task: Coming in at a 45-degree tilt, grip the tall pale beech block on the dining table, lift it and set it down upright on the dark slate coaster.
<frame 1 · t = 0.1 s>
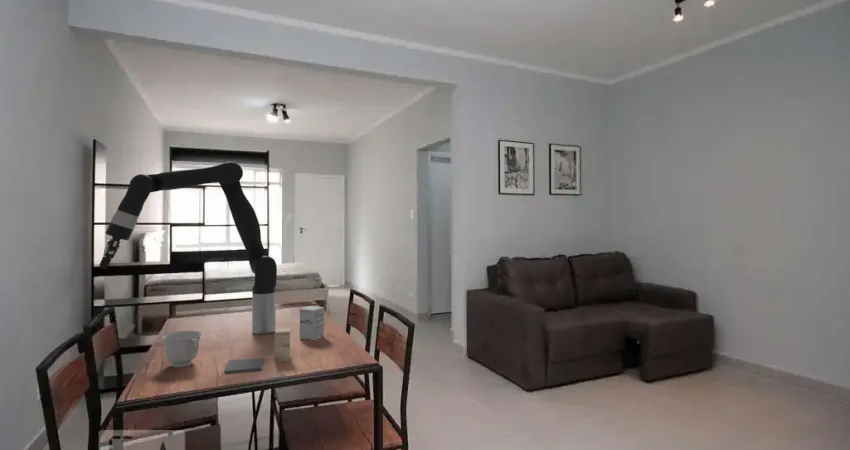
hand: (102, 267, 158), 31 cm above the table, tool tilted 20°, fingers open, 8 cm apart
slate coaster: (244, 366, 147), on the table
teacup: (184, 366, 148), on the table
supplement box: (311, 338, 183), on the table
beech block: (282, 359, 155), on the table
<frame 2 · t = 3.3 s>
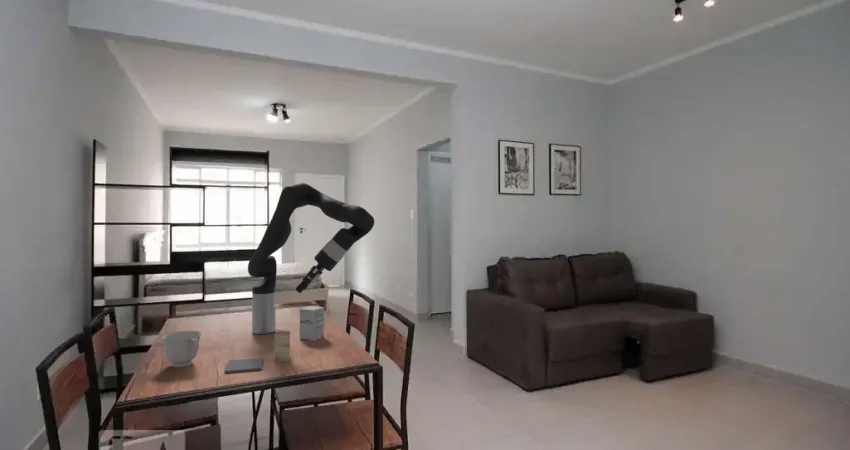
hand: (299, 290, 154), 25 cm above the table, tool tilted 40°, fingers open, 8 cm apart
nothing on the table moved.
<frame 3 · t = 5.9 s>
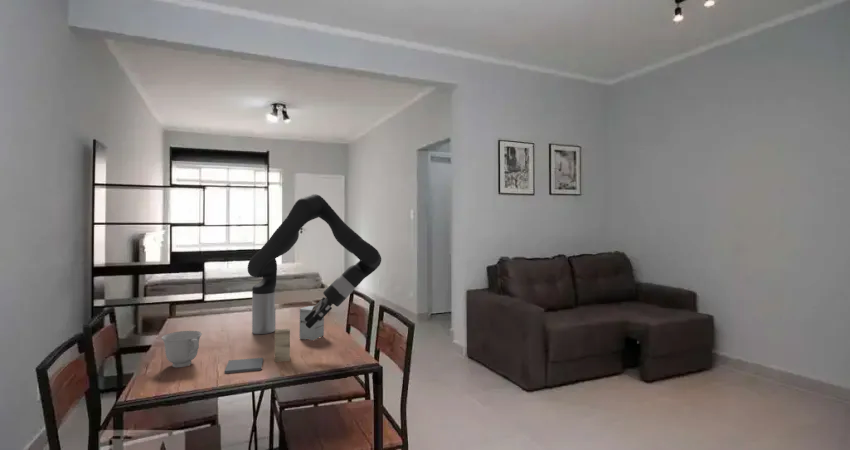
hand: (306, 323, 158), 12 cm above the table, tool tilted 45°, fingers open, 8 cm apart
nothing on the table moved.
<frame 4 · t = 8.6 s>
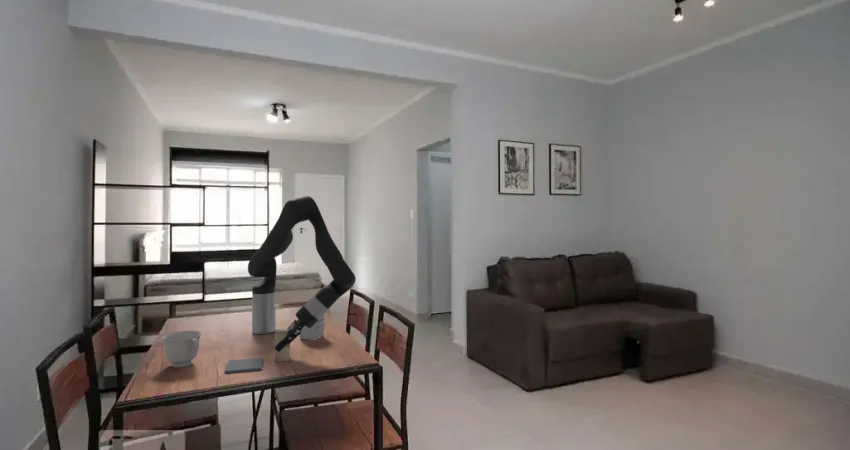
hand: (276, 347, 155), 4 cm above the table, tool tilted 45°, fingers closed on beech block, 5 cm apart
beech block: (282, 359, 155), on the table, touching gripper
everything else where it was.
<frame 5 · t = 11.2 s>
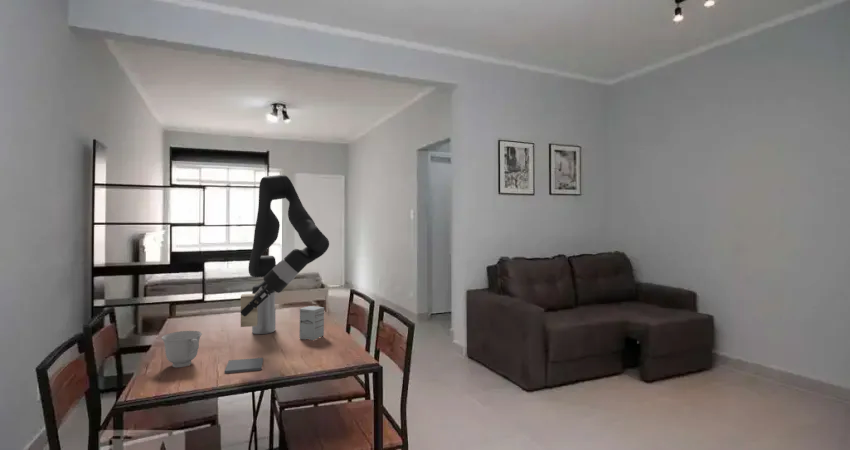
hand: (243, 312, 147), 18 cm above the table, tool tilted 45°, fingers closed on beech block, 5 cm apart
beech block: (249, 324, 148), point 14 cm above the table, touching gripper
everything else where it was.
when the fingers open (6 cm above the table, at t = 14.0 s): beech block drops 1 cm, resting on slate coaster.
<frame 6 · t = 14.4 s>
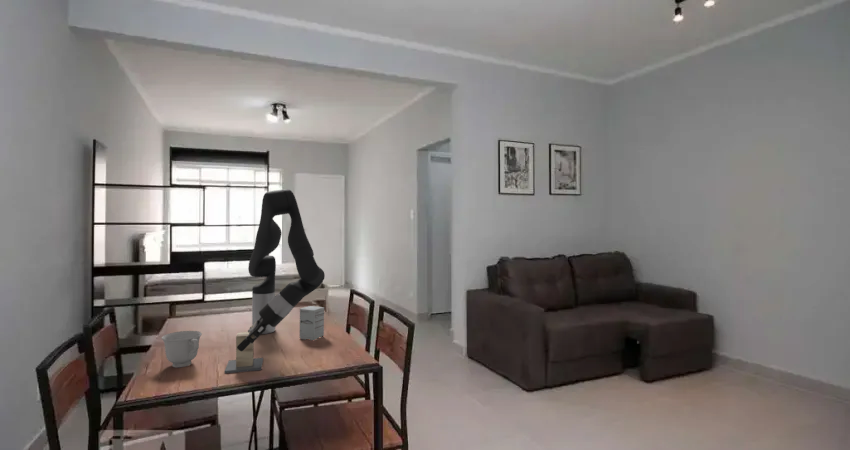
hand: (240, 345, 147), 7 cm above the table, tool tilted 45°, fingers open, 8 cm apart
beech block: (244, 363, 147), point 1 cm above the table, touching slate coaster
everything else where it was.
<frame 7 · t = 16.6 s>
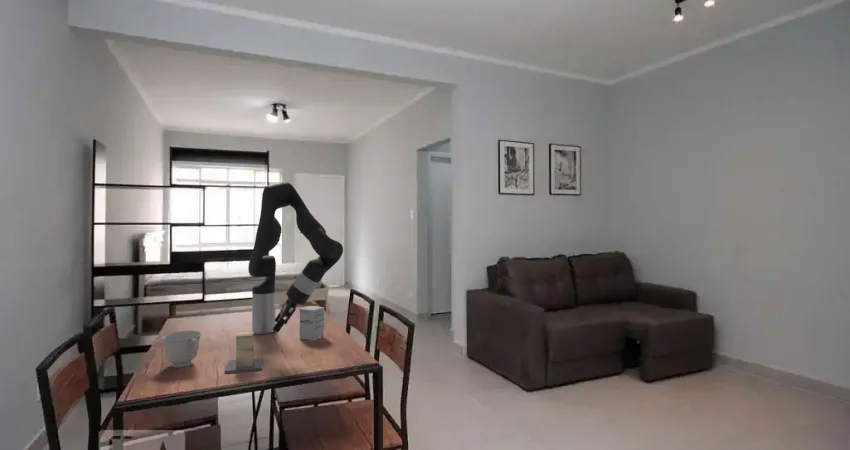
hand: (276, 326, 153), 12 cm above the table, tool tilted 35°, fingers open, 8 cm apart
nothing on the table moved.
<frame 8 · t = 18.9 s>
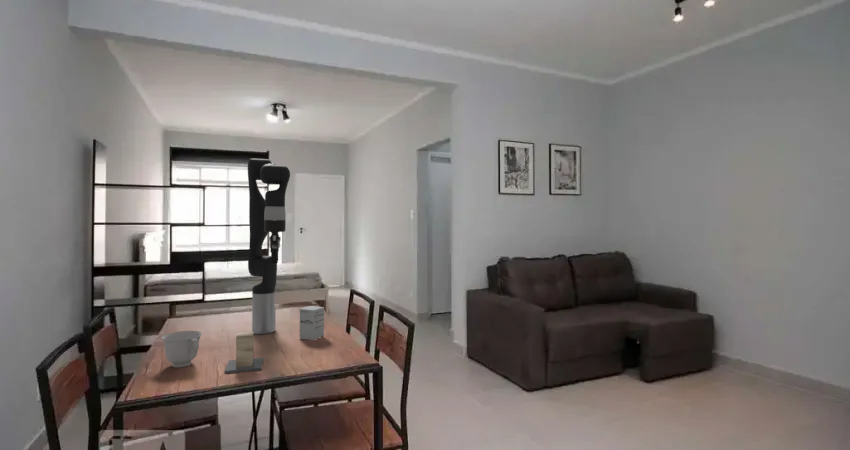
hand: (274, 262, 164), 33 cm above the table, tool pointing down, fingers open, 8 cm apart
nothing on the table moved.
at the end: beech block inside the target area on the slate coaster (0.1 cm from its centre), point 0.8 cm above the slate coaster's base; beech block tilted 0°; the gripper is holding nothing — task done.
